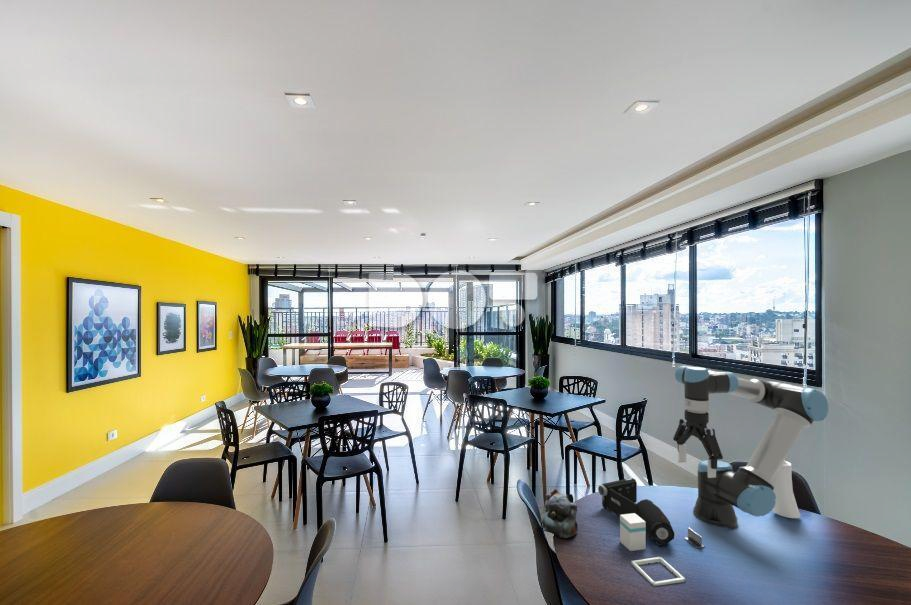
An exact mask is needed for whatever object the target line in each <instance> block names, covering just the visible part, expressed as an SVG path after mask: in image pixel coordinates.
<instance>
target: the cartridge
mask: <svg viewBox="0 0 911 605" xmlns="http://www.w3.org/2000/svg"><path fill="white" fill-rule="evenodd" d="M619 534H620V535H619V542H620V543H621V544H622V545H623V546H624V547H626V549H627V550H628V551H629V552H632V551H641V550H646V549H647V548H646V547H647V546H646V545H647V544H646V539H647V538H646V536H647V535H646V534H647V533H646V522H645V521H644V520H643V519H641V518H640V517H639V516H638V515H637V514H635V513H631V514H623V515H620V517H619Z"/></svg>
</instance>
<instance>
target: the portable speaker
mask: <svg viewBox="0 0 911 605" xmlns="http://www.w3.org/2000/svg"><path fill="white" fill-rule="evenodd" d="M636 504H637V506H638V515H639V517H640V518H641V519H643V520H644V521H645V522H646V534H647V535H648V536H649V537H650V538H651V539H652V540H653V541H654V542H655V543H656V544H657V545H660V546H663V547H665V546H666V545H667V544H670V542H672V541H673V540H674V539H675V530H674V529H673V527H672V525H671V522H670V520H669V519H668V518H667V516H666V515H665V514H664V512H663V511H662V510H661V508H660V507H658V505H656V504H655V503H654V502H653V501H652V500H650V499H641V500H640V501H638V502H636Z"/></svg>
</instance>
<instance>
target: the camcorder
mask: <svg viewBox="0 0 911 605" xmlns="http://www.w3.org/2000/svg"><path fill="white" fill-rule="evenodd" d="M637 483H638V482H637V480H636V479H635V478H633V477H630V478H624V479H620V480H619V479H618V480H615V481H610V482H605V483H601V485H599V486H598V487H597V491H598V493H599V495H600V496H602V499H601V500H602V501H601V504H602V507H603V508H604V509H605V510H606V509H608V510H610V511H611V512H612V513H614V514H615V515H616V516H617V517H619V518H620V515H623V514H631V513H635V514H637V515H638V506H637V503H638V502H637V501H638V500H637V497H638V496H637V490H638V488H637V486H638V485H637ZM638 516H639V515H638Z"/></svg>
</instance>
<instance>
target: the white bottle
mask: <svg viewBox="0 0 911 605" xmlns="http://www.w3.org/2000/svg"><path fill="white" fill-rule="evenodd" d="M792 470H793V467H792V463H791V462H789V461H786V460H784V461H783V463H782V465H781V466H780V468H779V470H778V472H777V473H776V475H775V477H774V478H773V480H772V483H773V485H774V489H773V492H774V493H775V496H776V499H775V501H776V503H775V506H774V508H773V509H772V511H773V512H774V513H775V514H777V515H779V516H782V517H785V518H789V519H799V518H801V517H802V516H801V513H800V510H799V508H798V505H797V500H796V497H795V493H794V489H793V488H794V487H793V479H792V478H793V477H792V476H793V475H792V472H793V471H792Z"/></svg>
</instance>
